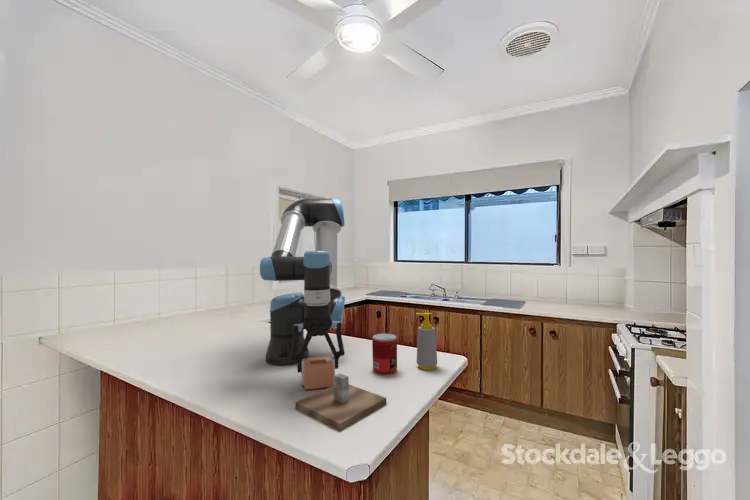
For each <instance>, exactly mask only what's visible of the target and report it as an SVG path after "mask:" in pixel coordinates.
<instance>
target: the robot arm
mask: <svg viewBox="0 0 750 500" xmlns="http://www.w3.org/2000/svg"><path fill="white" fill-rule="evenodd" d="M280 224H281V226H280V229H279V232H278V234H277V235H278V236H277V238H276V240H275V244H274V245H273V246H274V247H273V250H272V253H271V256H267V257H266V256H264V257H262V258H261V259H260V261H259V274H260V278H261V279H262V280H264V281H272V282H277V281H280V282H281V281H283V282H285V281H303V283H304V285H303V286H304V287H303V292H293V293H285V294H282V295H281V294H280V295H277V296H274V297H273V298H272V299H271V300H270V304H269V305H270V306H269V307H270V308H269V309H270V310H269V314H270V315H269V320H270V321H269V322H270V325H269V329H270V339H269V342H268V346H267V348H266V353H265V362H266V363H268V364H270V365H275V366H288V365H294V364H297V366H296V367H297V371H296V372H297V373H301V385H302V386H304V359H305V358H310V357H309V356H310V355H309V353H310V352H309V351H310V350H309V347H308V346H309V344H310V342H311V340H312V337H313V338H314V337H317V336H319V337H323V336H324V337H325V340H326V341H327V344H328V346H329V349H330V350H331V353H332V354H333V355H330V357H331V359H332V362H333V365H334V375H336V371H335V370H338V369H339V358H340V357H341V356H344V355H345V348H344V343H343V337H342V333H341V329H342V324H343V318H344V310H345V302H346V297H345V295H342V291H341V289H339V288H338V234H339V233H340V232H341V230H342V227H345V216H344V208H343V203H342V201H341V199H338V198H301V199H299V200H296V201H295V202H292V203H291V204H290V205H289V206H287V207H286V208H285V210H284V211H283V213H282V214H281V218H280ZM305 227H306V228H307V227H312V230H313V232H314V233H315V250H306V251H305V252H304V254H303V256H296V255H297V248H298V245H299V241H300V237H301V232H302V230H303V229H304V228H305ZM330 329H334V330H335V334H336V339H337V346H338V350H337V349H336V347H335V345H334V343H333V341H332V337H330V334H329V332H328V331H329V330H330ZM304 330H305V331H306V334H305V333H304ZM304 334H305V335H304Z"/></svg>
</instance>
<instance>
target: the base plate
mask: <svg viewBox="0 0 750 500" xmlns="http://www.w3.org/2000/svg"><path fill="white" fill-rule="evenodd" d="M349 380H350V379H349V375H345V374H343V373H340V372H339V373H337V374H335V375H334V386H332V387H326V389H323V390H321V391H317V392H316V393H313V394H311V395H309V396H306V397H304V398H302V399H299V400H297V401H295V402H294V406H295V409H296V410H298V411H300V412H302V413H305V414H306V415H308V416H310V417H312V418H314V419H315V420H318V421H320V422H322V423H324V424H326V425H328V426H329V427H331V428H334V429H335V430H337V431H342V430H344V429H346V428H348V427H349V426H351V425H352V424H354V423H356V422H358V421H359V420H361V419H362V418H365V417H366V416H368V415H370V414H372V413H374V412H375V411H377V410H378V409H380V408H382V407H383V406H385V405H387V397H386V396H383V395H380V394H376V393H374V392H371V391H368V390H366V389H362V388H360V387H357V386H354V385H352V384H349V383H350V382H349Z"/></svg>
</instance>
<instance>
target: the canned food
mask: <svg viewBox="0 0 750 500" xmlns="http://www.w3.org/2000/svg"><path fill="white" fill-rule="evenodd" d="M371 349H372V370H373V372H375V373H376V374H379V375H391V374H394V373H396V372H397V369H398V338H397V335H396V334H392V333H377V334H373V335H372V347H371Z"/></svg>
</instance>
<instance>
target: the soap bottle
mask: <svg viewBox="0 0 750 500" xmlns="http://www.w3.org/2000/svg"><path fill="white" fill-rule="evenodd" d="M431 314H432V313H431V312H422V313H421V312H416V313H415V315H417V316H421V317H423V318H424V320H423V321H422V324H420V326H418V328H417V337H416V339H417V341H416V343H417V344H416V364H417V366H418V368H419V369H420V370H424V371H432V370H434V369H436V366H437V365H438V353H437V334H436V328H435V327H434V326H432V325H433V324H431V321H430V320H429V315H431Z"/></svg>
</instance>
